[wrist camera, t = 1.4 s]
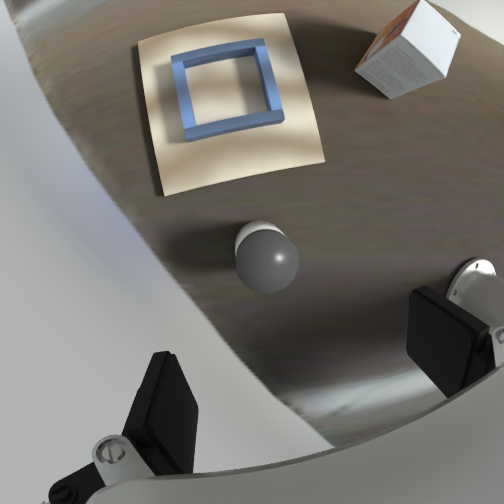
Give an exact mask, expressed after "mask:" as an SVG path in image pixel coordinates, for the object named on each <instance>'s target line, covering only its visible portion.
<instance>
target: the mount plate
mask: <svg viewBox="0 0 504 504" xmlns="http://www.w3.org/2000/svg"><path fill="white" fill-rule="evenodd" d="M138 48H139V56H140V64H141V72H142V79H143V86H144V93H145V99H146V105H147V111H148V117H149V123H150V128H151V134H152V139H153V144H154V149H155V154H156V159H157V164H158V169H159V173H160V178H161V182H162V187H163V191H164V195H165V196H168V195H172V194H175V193H179V192H183V191H187V190H191V189H195V188H199V187H203V186H207V185H211V184H215V183H220V182H224V181H228V180H233V179H237V178H242V177H247V176H251V175H256V174H261V173H266V172H271V171H276V170H282V169H287V168H293V167H298V166H304V165H310V164H316V163H322V162H325V160H324V155H323V150H322V145H321V141H320V136H319V132H318V128H317V124H316V119H315V115H314V111H313V107H312V103H311V100H310V96H309V92H308V88H307V85H306V81H305V78H304V74H303V71H302V67H301V64H300V61H299V57H298V54H297V51H296V48H295V45H294V42H293V39H292V36H291V33H290V30H289V27H288V24H287V21H286V18H285V15H284V13H275V14H263V15H253V16H245V17H237V18H231V19H224V20H219V21H213V22H208V23H203V24H199V25H194V26H190V27H186V28H182V29H178V30H174V31H171V32H167V33H164V34H160V35H157V36H154V37H151V38H148V39H145V40H142V41H139V42H138Z"/></svg>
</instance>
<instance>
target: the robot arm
mask: <svg viewBox="0 0 504 504" xmlns="http://www.w3.org/2000/svg"><path fill="white" fill-rule="evenodd" d="M406 350H407V354H408V355H409V357H410V358H411V359H412V360H413V361H414V362H415V363H416V364H417V365H418V366H419V367H420V368H421V370H422V371H423V372H424V373H425V374H426V375H427V376H428V377H429V378H430V379H431V380H432V382H433V383H434V384H435V385H436V386H437V387H438V388H439V389H440V390H441V391H442V393H443V394H444V395H445V396H446V397H447V398H448V399H446V400H444V401H443V402H441V403H439V404H437V405H435V406H434V407H432V408H430V409H428V410H426V411H424V412H422V413H420V414H418V415H416V416H414V417H412V418H410V419H408V420H405V421H403V422H401V423H399V424H397V425H394V426H392V427H390V428H387V429H385V430H383V431H380V432H378V433H375V434H373V435H370V436H367V437H365V438H362V439H359V440H357V441H354V442H351V443H348V444H345V445H342V446H339V447H336V448H332V449H329V450H326V451H322V452H319V453H315V454H312V455H308V456H304V457H300V458H296V459H291V460H287V461H282V462H278V463H273V464H268V465H261V466H255V467H249V468H242V469H234V470H226V471H218V472H208V473H193V466H194V454H195V443H196V432H197V421H198V405H197V402H196V400H195V398H194V396H193V394H192V392H191V389H190V387H189V385H188V383H187V381H186V378H185V376H184V374H183V371H182V369H181V367H180V365H179V362H178V360H177V357H176V355H175V354H171V353H170V352H169V351H163V352H156V353H154V354H153V356H152V358H151V361H150V363H149V366H148V368H147V371H146V373H145V376H144V379H143V381H142V384H141V386H140V388H139V389H138V391H137V394H136V396H135V399H134V401H133V404H132V407H131V410H130V412H129V415H128V418H127V420H126V423H125V426H124V429H123V432H122V435H110V436H107V437H104V438H103V439H101V440H100V441H98V443H97V444H96V445H95V446H94V448H93V450H92V458H93V461H94V462H92V463H90V464H89V465H87V466H85V467H84V468H81V469H80V470H78V471H76V472H74V473H72V474H71V475H69V476H67V477H65V478H63V479H61V480H59V481H57V482H56V483H55V484H53V486H52V487H51V488H50V491H49V502H48V503H46V502H45V501H44V502H42V503H41V504H504V279H503V278H500V277H498V276H496V274H495V270H494V267H493V265H492V264H491V263H490V262H489V261H487V260H485V259H482V258H475V259H472V260H471V261H469V262H467V263H466V264H465V265H464V266H463V267H462V268H461V269H460V270H459V272H458V273H457V274H456V276H455V277H454V279H453V281H452V283H451V285H450V287H449V289H448V291H447V294H446V297H444V296H442V295H441V294H439V293H437V292H436V291H434V290H432V289H431V288H429V287H427V286H422V287H419V288H416V289H414V290H413V291H412V294H410V296H409V315H408V333H407V346H406Z"/></svg>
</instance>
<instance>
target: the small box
mask: <svg viewBox="0 0 504 504" xmlns="http://www.w3.org/2000/svg"><path fill="white" fill-rule="evenodd" d="M460 37H461V35H460V34H459V33H458V31H457V30H456V29H455V28H454V27H453V26H452V25H451V24H450V23H449V22H448V21H447V20H446V19H444V18H443V17H442V16H441V15H440V14H439V13H438V12H437V11H436V10H435V9H434V8H433V7H431V6H430V5H429V4H428V3H427V2H426V1H424V0H417V1H416V2H415V3H414V4H412V5H411V6H410V7H409V8H407V9H406V10H405V11H404V12H403V13H401V14H400V15H399V16H398V17H396V18H395V19H394V20H393V21H392V22H390V23H389V24H388V25H387V26H386V27H385V28H383V29H382V30H381V31H380V32H379V33H378V34H377V36H376V37H375V39H374V41H373V42H372V44H371V46H370V47H369V49H368V50H367V52H366V53H365V55H364V56H363V58H362V59H361V61H360V62H359V64H358V65H357V67H356V68H355V72H357V73H358V74H359V75H361V76H362V77H363V78H365V79H366V80H367V81H368V82H370V83H371V84H372V85H373V86H375V87H376V88H377V89H378V90H380V91H381V92H382V93H383V94H384V95H386V96H387V97H388V98H389V99H393V98H396V97H398V96H401V95H403V94H405V93H408V92H410V91H413V90H415V89H418V88H420V87H423V86H425V85H428V84H430V83H433V82H436V81H438V80H441V79H444V78H446V75H447V72H448V68H449V66H450V63H451V60H452V57H453V55H454V52H455V49H456V46H457V44H458V41H459V39H460Z"/></svg>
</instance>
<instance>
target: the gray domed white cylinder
mask: <svg viewBox="0 0 504 504" xmlns="http://www.w3.org/2000/svg"><path fill="white" fill-rule="evenodd" d="M235 256H236V270H237V274H238V276H239V278H240V280H241V281H242V282H243V284H244V285H245V286H247V287H248V288H249V289H251V290H253V291H256V292H259V293H274V292H278V291H280V290H282V289H284V288H285V287H287V286H288V285H289V284H290V283H291V282H292V281H293V279H294V278H295V276H296V274H297V272H298V268H299V255H298V252H297V249H296V247H295V246H294V244H293V243H292V242H291V241H290V240H289V239H288V238H287V237H286V236H285V235H284V234H283V233H282V232H281V231H280V230H279V229H278V228H277V227H276V226H275V225H274V224H272V223H270V222H268V221H263V220H257V221H252V222H250V223H248V224H246V225H245V226H243V227H242V228H241V229H240V231H239V232H238V234H237V237H236V240H235Z"/></svg>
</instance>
